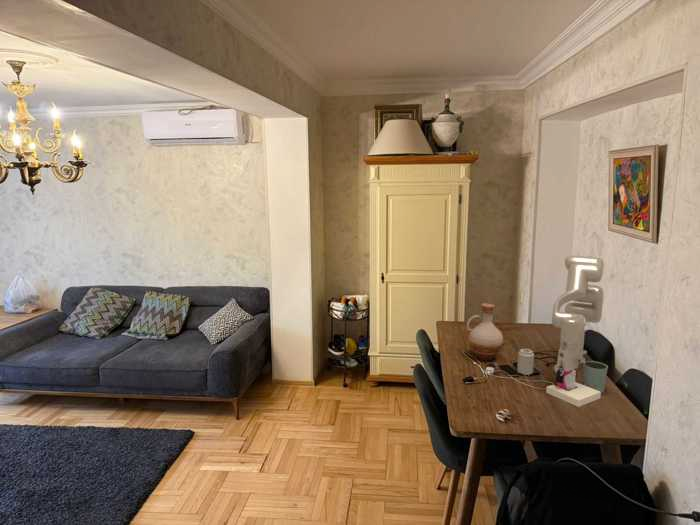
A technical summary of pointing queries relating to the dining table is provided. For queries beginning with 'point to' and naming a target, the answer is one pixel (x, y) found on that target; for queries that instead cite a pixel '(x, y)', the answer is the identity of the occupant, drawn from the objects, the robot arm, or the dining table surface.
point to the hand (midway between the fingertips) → (566, 380)
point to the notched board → (575, 394)
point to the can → (525, 361)
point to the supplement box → (568, 380)
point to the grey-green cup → (595, 375)
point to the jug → (485, 335)
